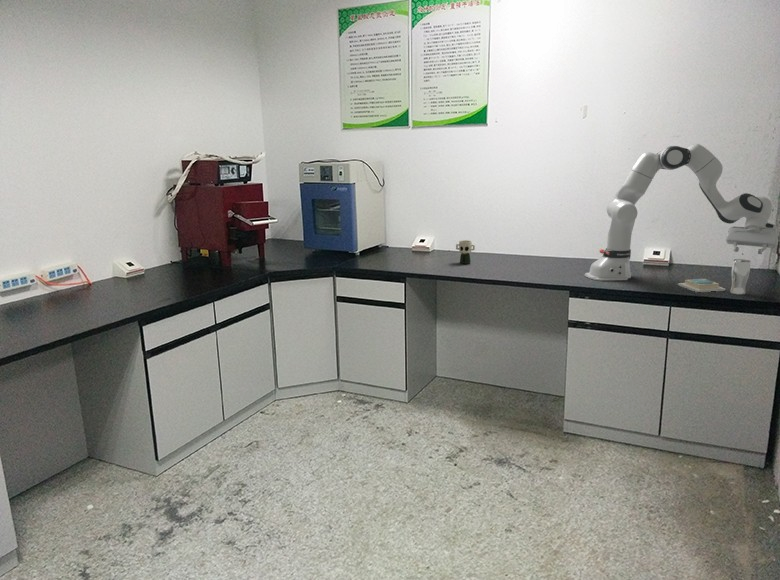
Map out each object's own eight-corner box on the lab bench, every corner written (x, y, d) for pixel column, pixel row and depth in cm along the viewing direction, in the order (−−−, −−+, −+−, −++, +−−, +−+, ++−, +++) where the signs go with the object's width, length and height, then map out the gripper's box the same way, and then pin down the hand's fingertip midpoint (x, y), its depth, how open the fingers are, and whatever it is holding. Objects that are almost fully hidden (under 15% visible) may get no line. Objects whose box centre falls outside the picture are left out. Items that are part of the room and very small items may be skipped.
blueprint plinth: (697, 292, 260) (698, 285, 259) (677, 285, 273) (678, 278, 272) (725, 290, 262) (726, 284, 261) (704, 283, 275) (705, 277, 274)
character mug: (454, 264, 329) (454, 242, 326) (457, 261, 336) (457, 239, 333) (473, 265, 326) (473, 242, 322) (475, 262, 332) (476, 240, 329)
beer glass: (742, 295, 253) (746, 262, 249) (725, 292, 259) (730, 260, 255) (749, 293, 257) (754, 260, 253) (733, 290, 263) (737, 258, 259)
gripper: (729, 222, 270) (721, 245, 266) (780, 225, 257) (773, 250, 253) (730, 230, 275) (722, 253, 270) (780, 234, 261) (773, 258, 257)
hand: (747, 252), depth 261 cm, fingers open, 8 cm apart
